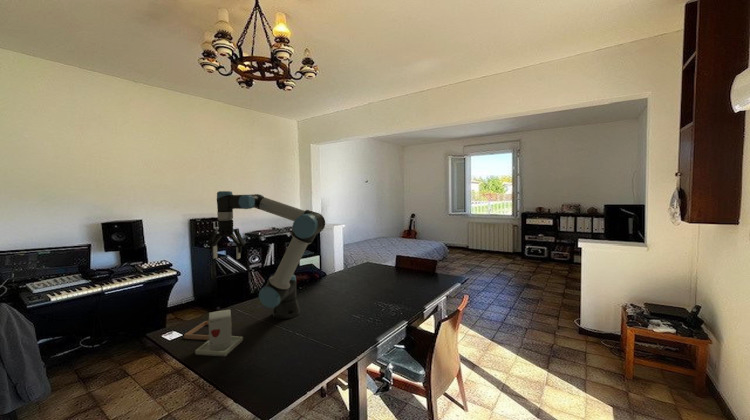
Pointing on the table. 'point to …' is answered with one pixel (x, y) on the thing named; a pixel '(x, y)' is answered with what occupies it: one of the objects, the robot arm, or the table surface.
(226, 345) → the supplement box
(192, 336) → the frame
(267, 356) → the table surface
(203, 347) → the tray
